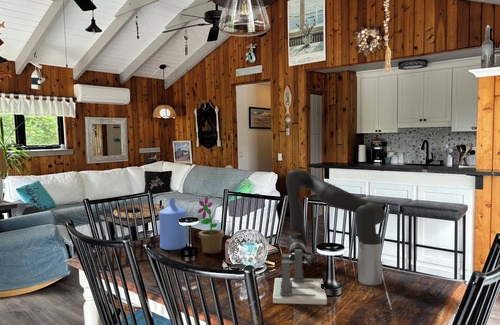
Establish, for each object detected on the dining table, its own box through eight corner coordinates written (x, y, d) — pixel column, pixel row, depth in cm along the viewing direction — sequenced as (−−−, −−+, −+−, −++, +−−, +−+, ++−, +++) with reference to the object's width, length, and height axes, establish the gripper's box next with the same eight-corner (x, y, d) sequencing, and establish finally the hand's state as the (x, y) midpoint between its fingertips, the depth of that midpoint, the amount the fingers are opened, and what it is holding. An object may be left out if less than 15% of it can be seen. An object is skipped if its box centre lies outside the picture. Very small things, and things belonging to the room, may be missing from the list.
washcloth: (264, 257, 196) (263, 251, 196) (241, 250, 210) (241, 245, 209) (279, 252, 204) (279, 246, 204) (256, 245, 218) (256, 240, 217)
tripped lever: (303, 277, 159) (303, 248, 158) (304, 281, 155) (303, 251, 154) (293, 277, 159) (292, 248, 159) (293, 281, 155) (292, 251, 155)
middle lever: (291, 284, 153) (291, 254, 152) (291, 288, 149) (291, 257, 148) (281, 284, 153) (280, 253, 152) (280, 287, 149) (280, 257, 148)
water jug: (184, 250, 211) (182, 200, 209) (156, 250, 211) (154, 201, 209) (189, 242, 226) (187, 196, 224) (163, 242, 227) (161, 196, 225)
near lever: (292, 291, 146) (291, 259, 145) (292, 295, 142) (291, 263, 141) (280, 291, 146) (280, 259, 145) (280, 295, 142) (279, 263, 141)
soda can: (237, 266, 182) (237, 242, 182) (223, 265, 184) (223, 241, 183) (241, 261, 189) (240, 238, 189) (227, 261, 191) (227, 237, 190)
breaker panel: (322, 283, 159) (322, 278, 159) (326, 304, 139) (326, 298, 139) (275, 282, 161) (275, 277, 161) (272, 303, 142) (272, 297, 141)
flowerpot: (210, 245, 219) (209, 194, 217) (229, 249, 211) (228, 196, 209) (193, 251, 208) (191, 198, 205) (213, 256, 199) (211, 200, 197)
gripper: (282, 243, 173) (281, 254, 157) (313, 244, 171) (315, 255, 155) (282, 259, 173) (281, 272, 157) (313, 260, 172) (315, 273, 156)
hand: (298, 263), depth 156 cm, fingers open, 8 cm apart
